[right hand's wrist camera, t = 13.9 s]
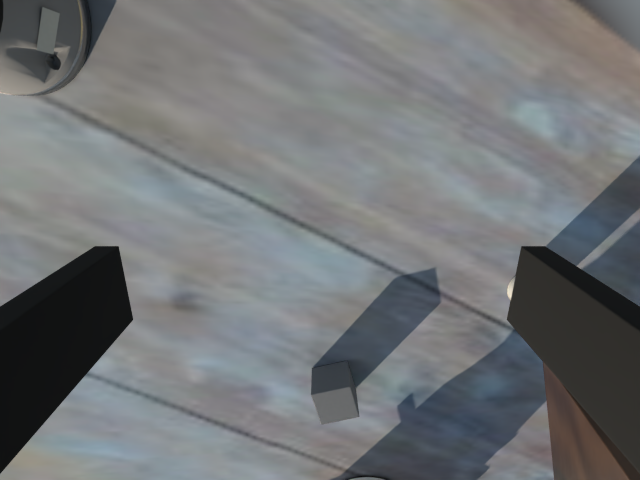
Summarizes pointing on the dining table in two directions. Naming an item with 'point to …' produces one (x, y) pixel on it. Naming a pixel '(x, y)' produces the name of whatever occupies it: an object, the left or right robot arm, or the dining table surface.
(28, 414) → the right robot arm
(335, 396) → the grey rubber block
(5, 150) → the dining table surface
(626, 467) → the walnut plank
